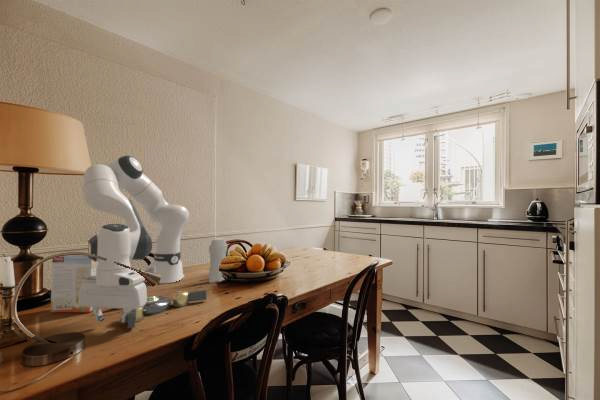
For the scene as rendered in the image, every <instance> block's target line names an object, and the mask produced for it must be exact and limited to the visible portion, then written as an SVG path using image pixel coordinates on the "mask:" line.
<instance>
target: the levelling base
mask: <svg viewBox="0 0 600 400" xmlns="http://www.w3.org/2000/svg"><path fill="white" fill-rule="evenodd" d="M171 303H172V299H171V298H170V297H168V296H162V295H159V296H156V295H149V296H147V302H146V304H145V305H144V306H143V317H146V316H152V315H153V316H154V315H157V314H162V313H165V312H166V311H168V310H170V309H171V307H172V304H171Z"/></svg>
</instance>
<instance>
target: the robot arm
mask: <svg viewBox="0 0 600 400" xmlns="http://www.w3.org/2000/svg"><path fill="white" fill-rule="evenodd" d="M143 171H144V170H143V165H142V164H141V162H139V160H138V159H137V158H135V157H134V156H131V155H123V156H120V157H118V159H115V160H113V161H111V162H109V163H106V164H101V163H98V164H92V165H90V166H88V167H87V168H86V169H85V171H84V176H83V182H82V184H83V185H82V190H83V191H82V192H83V197H84V201H85V203H86V204H87V206H89V207H90V208H91V209H93V210H95V211H98V212H101V213H106V214H111V215H113V216H117V217H120V218H121V219H123V220H124V221H125V224H121V223H108V224H105V225H102V226H101V227H100V229H99V233H96V234H94V235H93V236H91V238H89V240H87V242H88V247H87V248H88V251H87V252H88V253H91V254H95V255H98V256H101V257H104V258H107V260H106V261H104V260H101V259H98V258H95V257H91V256H88V258H90V259H91V260H93V261H95V262H98V265H97V268H96V276H86V277H84V278H83V279H82V281H81V288H80V291H79V297H78V304H79V305H80V306H81V307H92V311H91V312H93V314H94V316H95V322H102V321H105V313H103V312H102V308H103V309H105V308H106V309H120V310H121V309H122V312H123V315H121V316H120V317H119V318H118V322H119V323H121V324H126V322H127V320H128V315H129V313H130V312H131V310H132V309H140V308H141V307H143V306H144V305H145V304H146V302H147V297H148V292H147V286H146V283H147V282H146V281H145V278H144V277H143V276H141V275H140V274H139V273H137V272H138V271H137V270H135V269H133V270H131V269H132V268H131V262H130V261H131V260H132V261H139V260H140V261H142V260H144V259H145V258H146V257H148V255H150V254H151V252H152V250H153V241H152V237H151V236H150V234H149V233H148V231H147V230H146V228H145V226H144V223H143V221H142V219H141V217H140V215H139V212H138V210H137V208H136V206H135V204H134V202H133V200H131V199H130V198H129V197H127V196H125V194H123V192H122V191H121V190H122V189H124V190H125V191H126V192H127V193H128V194H129V195H130V196H131V197H132V198H133V199H134V200H135V201H136V202H137V203H138V204H140V205H141V206H142V207H143V208H144V210H145V211H146V213H147V214H148V215H149V219H150V220H151V221H152V222H153V223H154V224H156V225H159V226H161V230H160V232H159V234H158V235H157V236H156V243H155V244H156V247H155V252H156V253H154V254H153V261H152V262H151V263H149V265H148V266H146V269H144V272H145V271H146V272H154V273H157V274H159V275H161V277H162V278H161V281H160V283H159V284H170V283H171V284H172V283H176V281H177V282H179V280H180V281H182V280H183V279H182V278H184V277H185V274H184V273H183V272H184V271H183V261H181V256H182V254H181V250H180V249H181V238H182V237H181V236H182V232H183V229H184V227H185V225H186V223H187V222H188V221H189V218H190V212H189V210H188V208H186V207H185V206H183V205H179V204H170V203H168V201H166V199H165V198H164V196H163V192H162V190H161V189H160V188H159V187H158V186H157V185H156V184H155V183H154V182H153V181H152V180H151V179H150V178H149V177H148V176H147V175H145V174H144V173H143ZM115 261H116V263H117V262H119V263H121V264H124V265H126V266H129V267H130V269H129V268H125V267H123V266H120V265H117V264H116V263H114V262H115ZM134 270H135V271H134ZM136 271H137V272H136ZM85 278H86V279H85ZM181 279H182V280H181Z"/></svg>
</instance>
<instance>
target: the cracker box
mask: <svg viewBox="0 0 600 400" xmlns="http://www.w3.org/2000/svg"><path fill="white" fill-rule="evenodd" d="M62 252H63V251H62ZM62 252H60V253H62ZM86 252H87V253H88V251H86ZM58 253H59V252H57V253H53V254H52V256H53V255H54V254H58ZM97 265H98V262H95V261H93V260H91V259H90V258H88V256H84V255H68V256H61V257H56V258H53V257H52V267H51V288H50V289H51V290H50V291H51V292H50V313H91V312H93V311H92V307H81V306H80V305H79V304H78V297H79V291H80V288H81V281H82V279H83V278H84V277H86V276H96V268H97ZM85 279H86V278H85Z"/></svg>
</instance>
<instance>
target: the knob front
mask: <svg viewBox="0 0 600 400" xmlns="http://www.w3.org/2000/svg"><path fill="white" fill-rule="evenodd" d="M143 318H144V316H143V307H141V308H140V309H132V310H131V312H130V313H129V315H128V320H127V322H125V324H126V323H127V329H131V328H135V327H136V323H137V322H139V321H142V320H143Z"/></svg>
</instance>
